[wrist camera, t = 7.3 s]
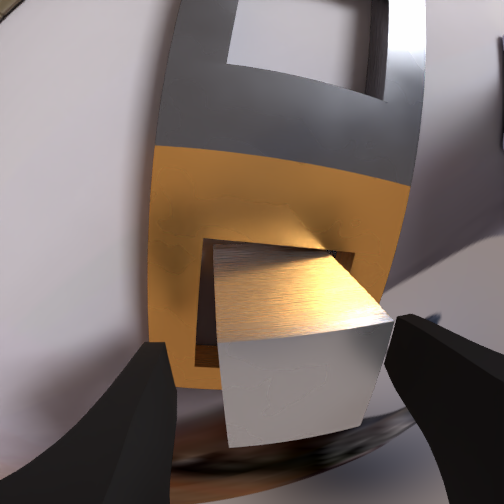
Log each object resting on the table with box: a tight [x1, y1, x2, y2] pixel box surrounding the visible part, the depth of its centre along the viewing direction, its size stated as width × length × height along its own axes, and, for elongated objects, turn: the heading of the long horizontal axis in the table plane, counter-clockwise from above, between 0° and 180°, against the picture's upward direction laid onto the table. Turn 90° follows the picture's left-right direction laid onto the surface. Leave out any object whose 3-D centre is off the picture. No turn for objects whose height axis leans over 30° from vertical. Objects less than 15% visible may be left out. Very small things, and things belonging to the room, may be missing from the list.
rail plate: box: [148, 0, 426, 390], centre depth 10 cm, size 9×19×2 cm, turn 172°
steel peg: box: [213, 243, 394, 448], centre depth 10 cm, size 4×4×6 cm
